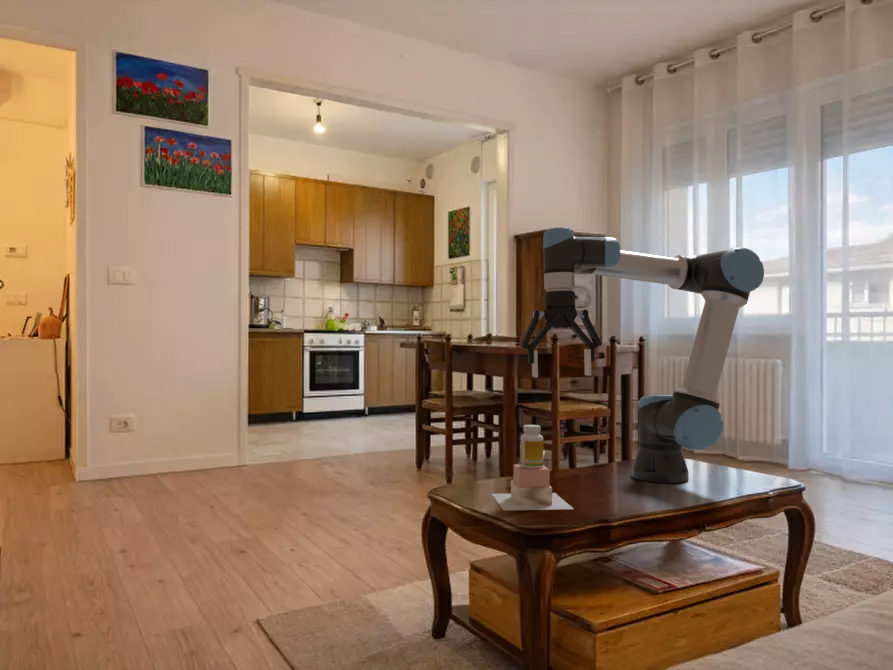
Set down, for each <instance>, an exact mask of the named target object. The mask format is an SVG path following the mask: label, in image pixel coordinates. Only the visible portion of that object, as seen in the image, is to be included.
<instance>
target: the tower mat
mask: <svg viewBox="0 0 893 670" xmlns="http://www.w3.org/2000/svg"><path fill="white" fill-rule="evenodd" d="M491 496H492V497H493V498H494V500H496V502H497V503H498V505H499V506H500V508H501V509H502V510H503V511H542V510H543V511H544V510H545V511H549V510H550V511H551V510H553V511H555V510H560V511H561V510H575V509H574V507H572V505H570V504H569V503H568V502H566V500H564V499H563V498H562V497H560V496H559V495H558V494H557V493H556V492H552V505H520V506H518V505H517V504H516V503H515V502H514V501H513V499H512V498H511V493H491Z"/></svg>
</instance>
